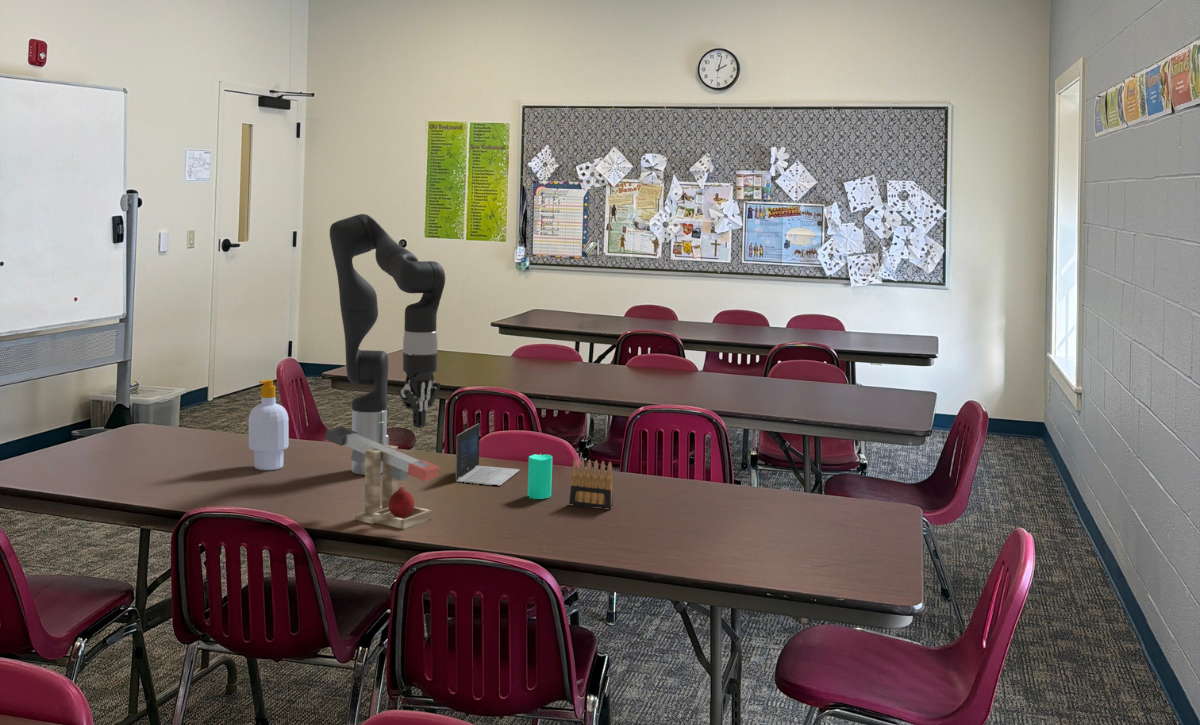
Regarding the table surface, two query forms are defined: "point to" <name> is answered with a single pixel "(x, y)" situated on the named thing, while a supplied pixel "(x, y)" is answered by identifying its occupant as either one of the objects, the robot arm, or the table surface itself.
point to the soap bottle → (268, 430)
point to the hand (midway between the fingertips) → (419, 426)
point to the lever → (383, 455)
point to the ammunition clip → (591, 485)
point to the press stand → (384, 495)
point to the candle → (540, 476)
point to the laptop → (476, 461)
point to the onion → (401, 503)
